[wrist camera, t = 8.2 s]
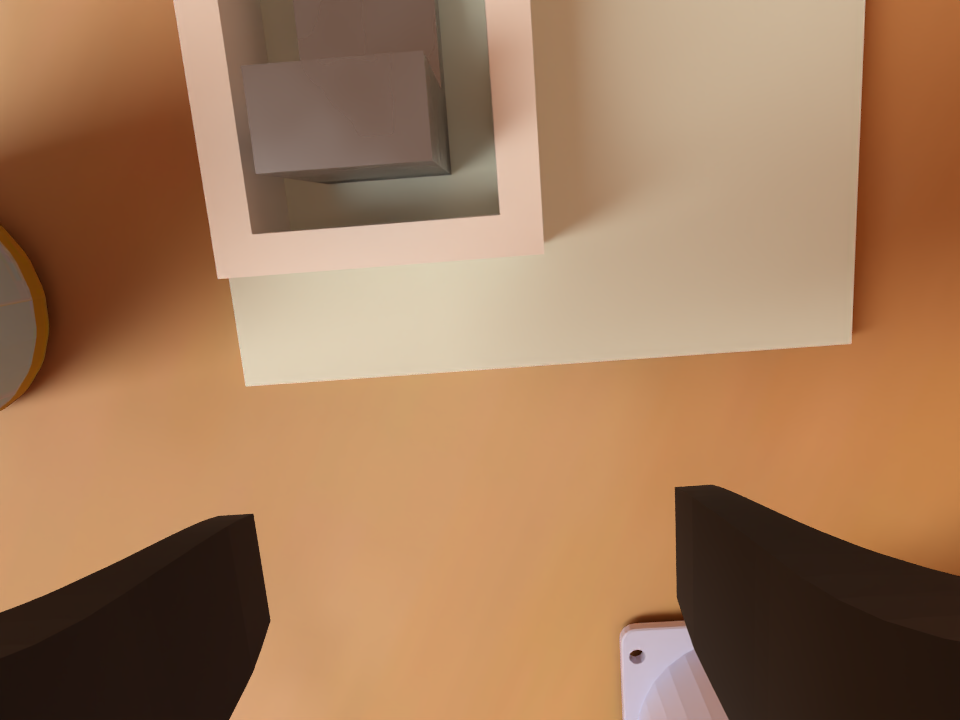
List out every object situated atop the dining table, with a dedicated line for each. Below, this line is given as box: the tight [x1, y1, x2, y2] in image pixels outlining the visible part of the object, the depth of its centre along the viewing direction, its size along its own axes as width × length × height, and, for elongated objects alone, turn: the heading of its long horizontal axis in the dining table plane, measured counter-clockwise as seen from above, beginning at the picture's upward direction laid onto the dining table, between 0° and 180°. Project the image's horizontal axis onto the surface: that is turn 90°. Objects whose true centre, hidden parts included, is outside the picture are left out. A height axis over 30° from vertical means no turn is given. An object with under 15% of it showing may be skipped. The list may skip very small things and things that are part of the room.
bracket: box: [241, 0, 452, 184], centre depth 16 cm, size 5×4×6 cm
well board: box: [173, 0, 865, 386], centre depth 18 cm, size 14×18×4 cm
